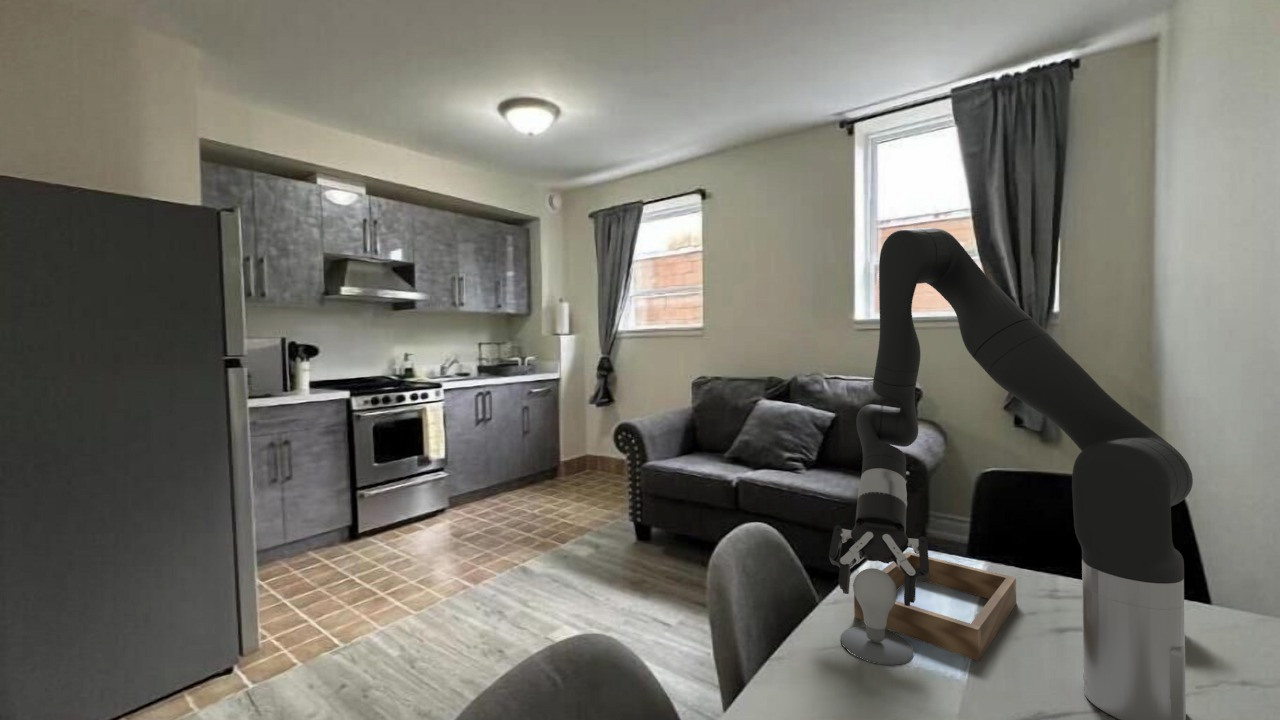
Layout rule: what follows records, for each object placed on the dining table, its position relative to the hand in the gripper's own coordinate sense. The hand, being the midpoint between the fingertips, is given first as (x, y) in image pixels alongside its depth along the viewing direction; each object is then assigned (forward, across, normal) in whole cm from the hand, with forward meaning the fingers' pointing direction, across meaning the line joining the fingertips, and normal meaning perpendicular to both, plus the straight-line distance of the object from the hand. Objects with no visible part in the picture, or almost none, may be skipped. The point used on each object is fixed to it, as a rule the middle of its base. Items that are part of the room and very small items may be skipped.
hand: (875, 597), depth 79 cm
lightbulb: (+5, 0, +6) cm, 7 cm away
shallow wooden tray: (-7, +8, +18) cm, 20 cm away
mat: (+5, 0, +6) cm, 8 cm away
